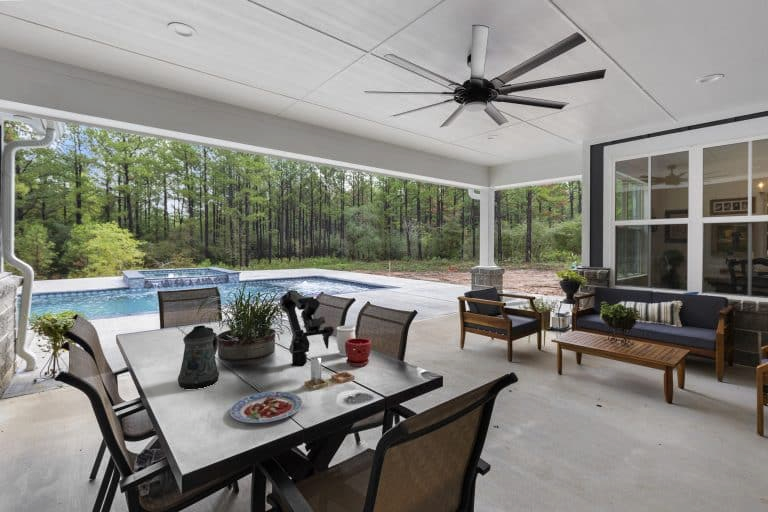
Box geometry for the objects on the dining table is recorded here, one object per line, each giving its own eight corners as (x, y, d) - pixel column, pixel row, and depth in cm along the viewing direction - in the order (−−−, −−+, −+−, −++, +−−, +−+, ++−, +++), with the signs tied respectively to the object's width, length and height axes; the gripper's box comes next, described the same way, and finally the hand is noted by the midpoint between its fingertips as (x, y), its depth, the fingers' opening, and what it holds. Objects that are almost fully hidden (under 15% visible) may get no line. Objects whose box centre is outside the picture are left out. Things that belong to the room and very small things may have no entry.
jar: (354, 357, 203) (354, 329, 203) (335, 357, 204) (335, 329, 203) (356, 351, 214) (356, 325, 213) (338, 351, 214) (338, 325, 213)
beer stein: (173, 392, 157) (171, 332, 156) (184, 376, 176) (183, 322, 175) (216, 388, 161) (215, 330, 160) (222, 372, 180) (221, 320, 179)
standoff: (309, 387, 160) (309, 359, 160) (312, 383, 165) (312, 356, 164) (320, 388, 160) (319, 360, 159) (322, 383, 164) (322, 356, 164)
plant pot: (367, 368, 185) (367, 344, 185) (342, 367, 188) (341, 343, 187) (373, 360, 198) (373, 337, 198) (349, 358, 201) (349, 336, 200)
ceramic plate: (276, 391, 159) (276, 384, 158) (316, 408, 142) (316, 401, 142) (216, 413, 139) (216, 405, 138) (255, 436, 122) (255, 427, 122)
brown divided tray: (310, 392, 156) (310, 387, 156) (302, 386, 163) (302, 381, 163) (356, 381, 169) (356, 376, 169) (346, 375, 176) (346, 371, 176)
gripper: (294, 313, 168) (302, 344, 160) (332, 309, 178) (342, 338, 170) (288, 326, 176) (296, 356, 167) (325, 321, 186) (335, 350, 177)
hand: (318, 349), depth 170 cm, fingers open, 9 cm apart
